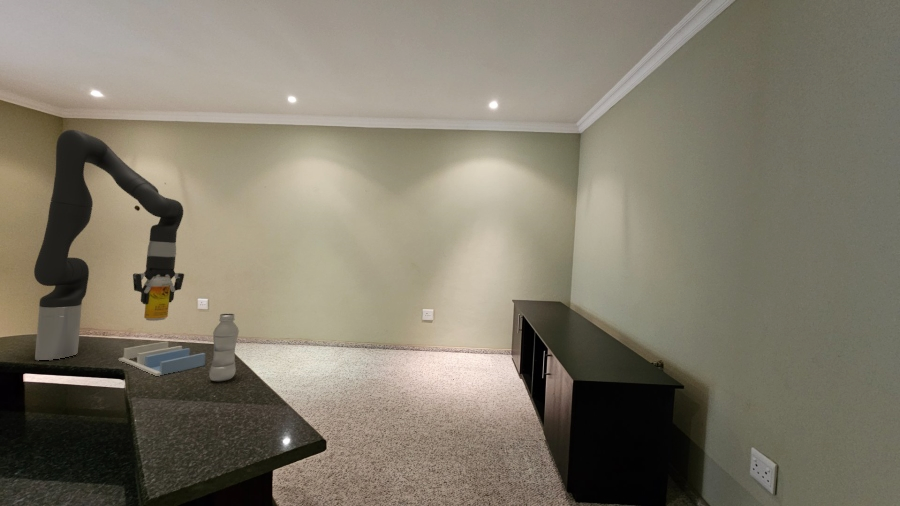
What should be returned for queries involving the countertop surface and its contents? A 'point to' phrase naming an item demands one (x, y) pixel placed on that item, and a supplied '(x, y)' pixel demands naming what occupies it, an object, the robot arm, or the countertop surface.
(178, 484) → the countertop surface
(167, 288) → the beer can
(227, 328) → the plastic bottle
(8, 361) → the countertop surface
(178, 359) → the rack
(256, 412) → the countertop surface
